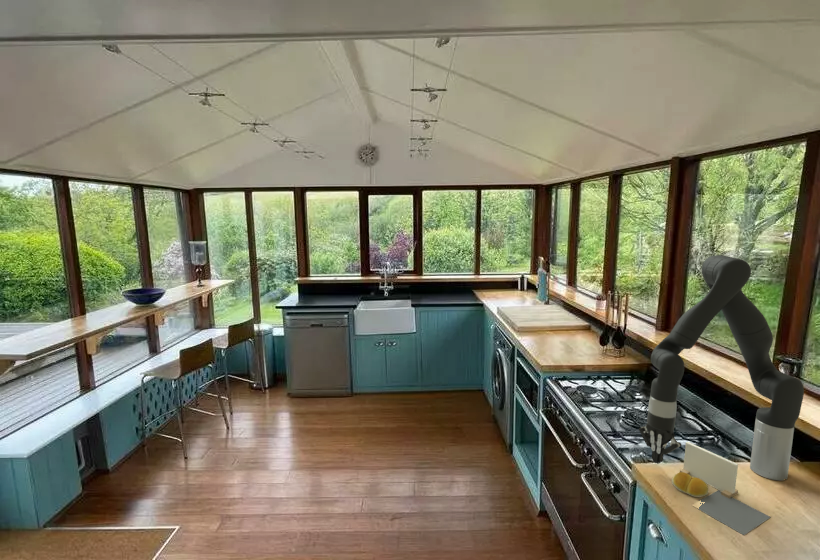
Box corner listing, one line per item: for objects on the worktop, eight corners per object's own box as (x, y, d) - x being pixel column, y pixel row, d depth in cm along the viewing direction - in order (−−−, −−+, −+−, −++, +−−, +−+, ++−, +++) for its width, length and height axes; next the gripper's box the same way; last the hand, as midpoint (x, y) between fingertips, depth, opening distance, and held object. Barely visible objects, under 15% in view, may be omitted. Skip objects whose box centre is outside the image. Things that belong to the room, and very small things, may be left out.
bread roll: (703, 502, 121) (704, 489, 121) (668, 487, 128) (669, 475, 127) (712, 490, 126) (713, 477, 126) (678, 476, 133) (679, 465, 133)
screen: (688, 468, 137) (691, 440, 136) (737, 493, 125) (741, 462, 123) (679, 473, 135) (682, 444, 134) (728, 498, 123) (732, 467, 121)
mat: (718, 490, 126) (718, 489, 126) (770, 517, 115) (770, 516, 115) (691, 505, 120) (691, 504, 120) (743, 535, 109) (743, 534, 109)
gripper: (690, 417, 129) (684, 469, 131) (649, 401, 140) (644, 449, 143) (676, 423, 125) (670, 476, 128) (634, 405, 137) (630, 454, 139)
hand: (656, 462), depth 135 cm, fingers closed
